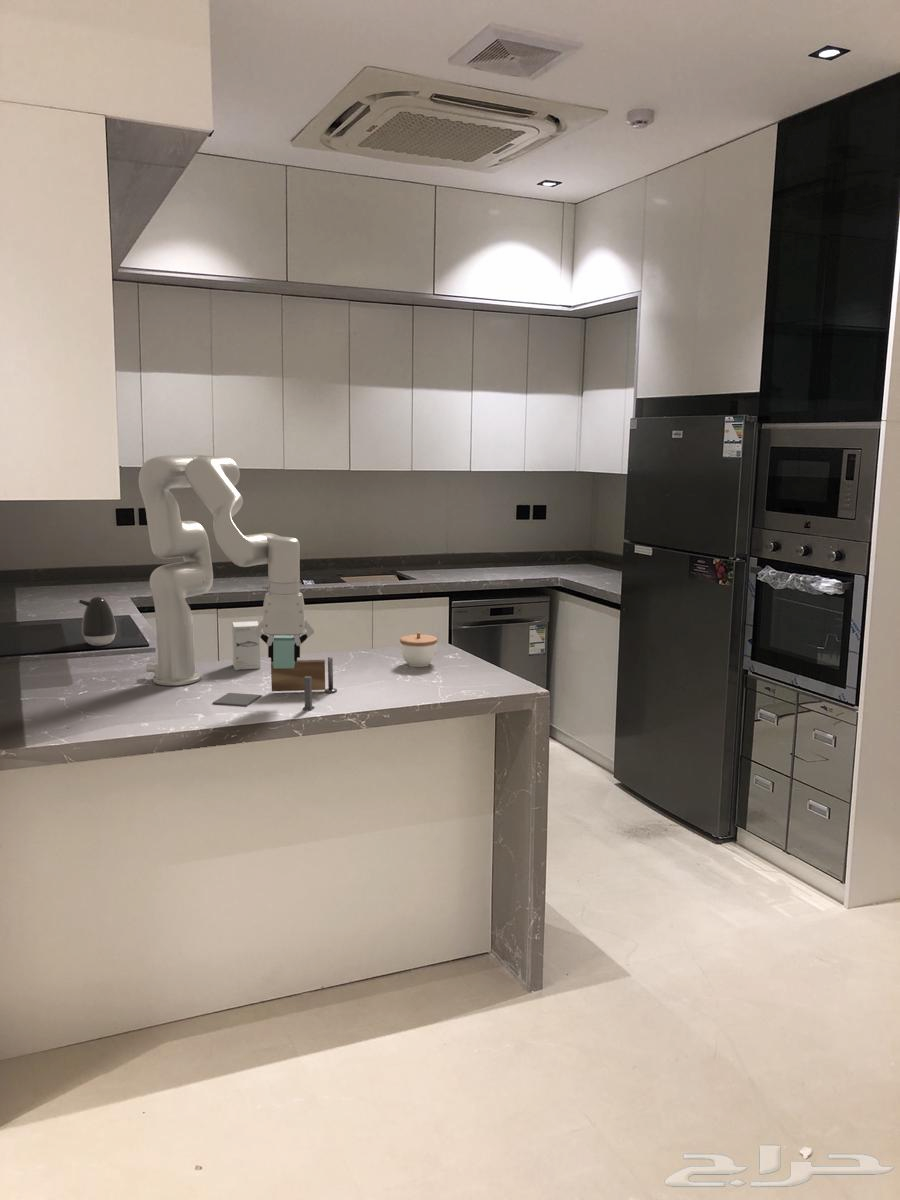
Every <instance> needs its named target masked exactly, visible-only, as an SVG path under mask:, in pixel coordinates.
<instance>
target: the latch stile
mask: <svg viewBox="0 0 900 1200" xmlns="http://www.w3.org/2000/svg"><path fill="white" fill-rule="evenodd" d="M303 695H304V707H302V711H312V710H313V709H315V706H314V705H313V690H312V676H306V677H304V694H303Z"/></svg>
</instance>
